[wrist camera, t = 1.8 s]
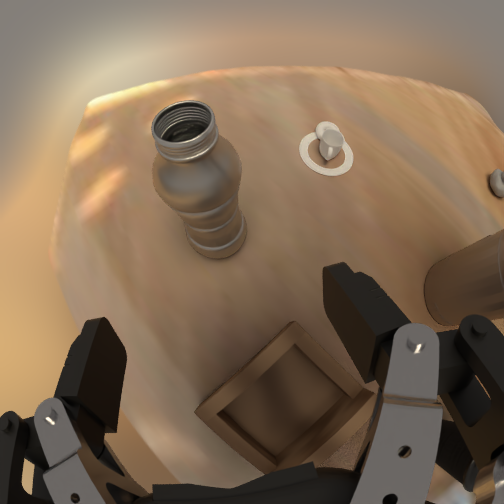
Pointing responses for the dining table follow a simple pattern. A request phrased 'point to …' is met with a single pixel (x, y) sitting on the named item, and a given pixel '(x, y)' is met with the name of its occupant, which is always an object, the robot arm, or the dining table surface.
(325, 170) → the teacup and saucer
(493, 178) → the rubber duck
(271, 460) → the drawer
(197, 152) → the plastic bottle
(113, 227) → the dining table surface
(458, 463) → the drinking cup
